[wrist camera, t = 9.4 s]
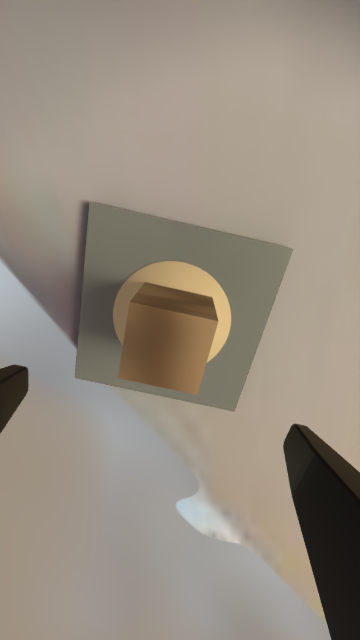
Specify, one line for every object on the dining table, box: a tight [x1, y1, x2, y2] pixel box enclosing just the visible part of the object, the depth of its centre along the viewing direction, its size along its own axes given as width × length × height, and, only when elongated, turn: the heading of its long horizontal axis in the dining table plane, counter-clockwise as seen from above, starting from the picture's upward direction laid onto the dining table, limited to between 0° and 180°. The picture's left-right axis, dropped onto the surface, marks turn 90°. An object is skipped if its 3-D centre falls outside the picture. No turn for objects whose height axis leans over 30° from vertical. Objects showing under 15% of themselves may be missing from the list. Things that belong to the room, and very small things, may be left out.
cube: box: [118, 282, 219, 395], centre depth 18 cm, size 5×5×5 cm
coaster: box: [75, 202, 293, 411], centre depth 20 cm, size 14×14×1 cm
